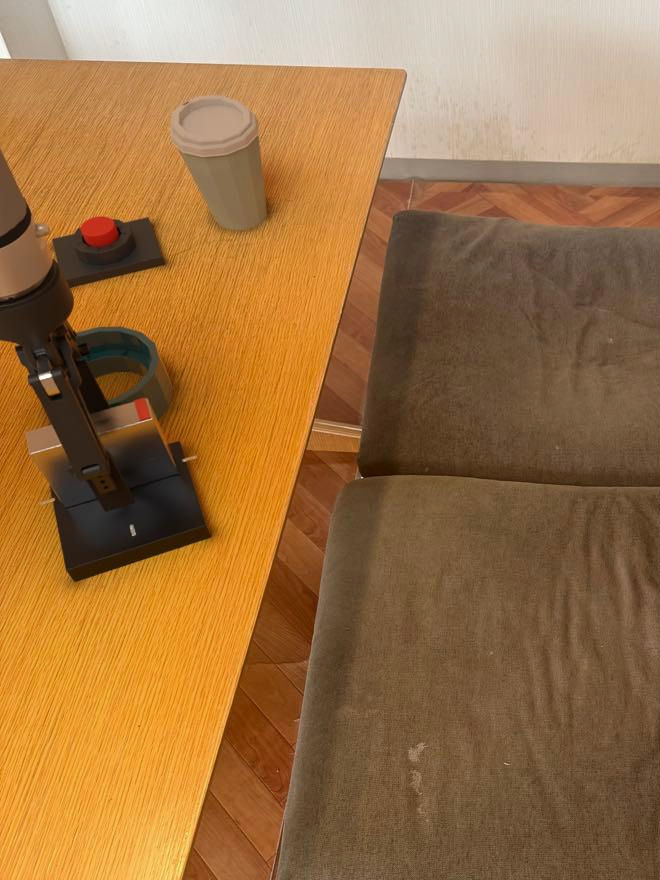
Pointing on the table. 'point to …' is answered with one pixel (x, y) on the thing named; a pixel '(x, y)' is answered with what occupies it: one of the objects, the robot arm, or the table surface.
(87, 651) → the table surface
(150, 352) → the teal ring
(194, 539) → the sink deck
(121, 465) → the reflective bent rectangular block
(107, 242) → the button
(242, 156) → the disposable coffee cup
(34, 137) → the table surface
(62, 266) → the button box
